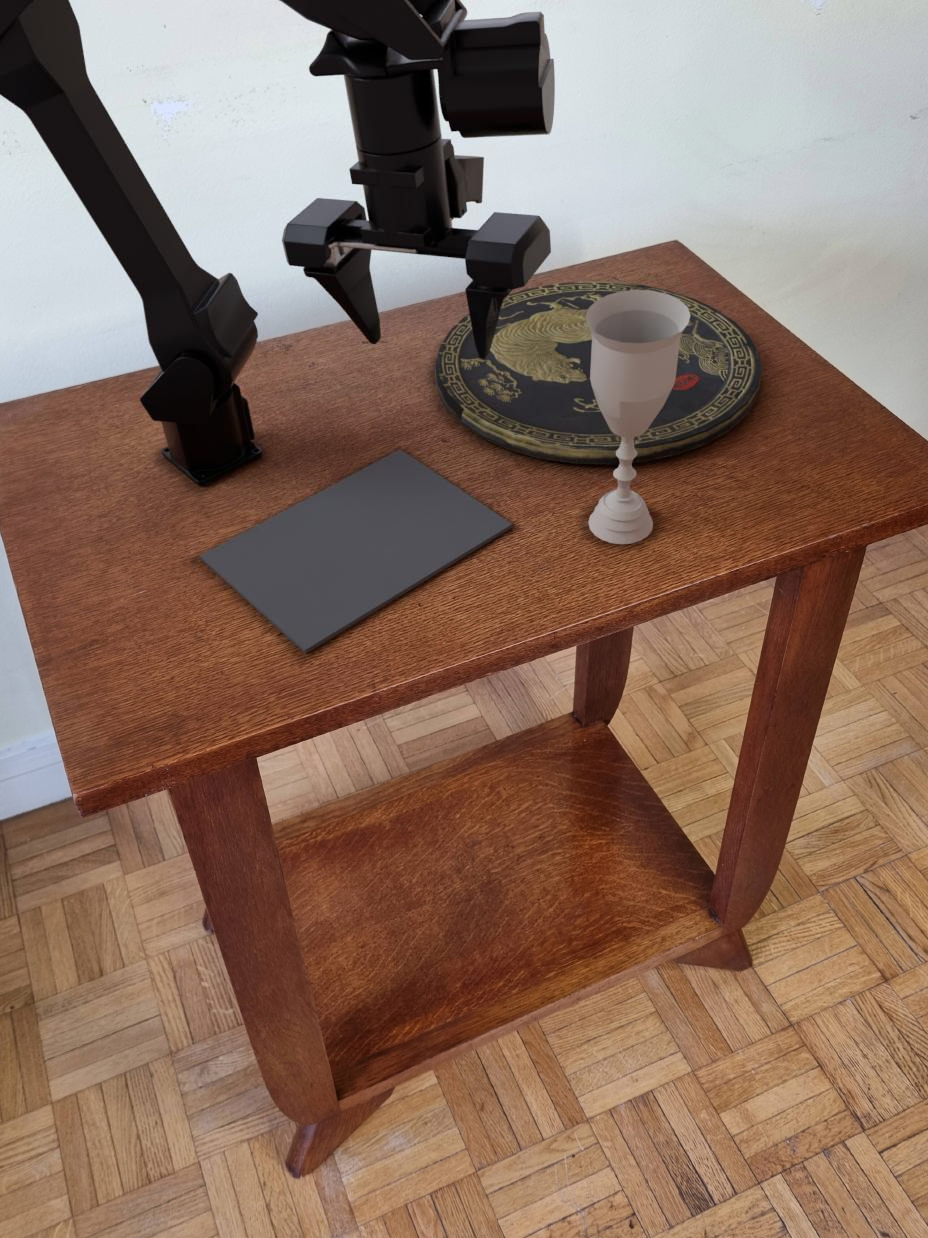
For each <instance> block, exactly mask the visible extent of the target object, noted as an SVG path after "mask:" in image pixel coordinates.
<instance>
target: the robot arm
mask: <svg viewBox="0 0 928 1238" xmlns="http://www.w3.org/2000/svg"><path fill="white" fill-rule="evenodd" d="M278 1H279V2H281V3H283V4H284V5H285V6H287V7H288V8H290V9H291V10H293V11H294V12H295V13H296V14H298V15H300V16H301V17H302V18H304V19H306V20H307V21H309V22H312V23H315V24H317V25H319V26H322V27H324V28H327V29H329V31H328V32H327V33H326V38H325V41H324V44H323V46H322V48H321V50H320V52H319V53H318V54H317V56H316V57H315V59H314V60H313V61H312V62H311V63H310V65H309V67H308V71H309V73H310V74H311V75H312V76H313V77H331V76H343V79H344V84H345V85H344V86H345V90H346V97H347V102H348V107H349V108H348V109H349V113H350V119H351V123H352V124H351V125H352V131H353V137H354V143H355V148H356V149H355V150H356V154H357V162H355V163H354V164H353V165H352V166H351V167H349V168H348V171H349V175H350V181H351V185H357V186H358V185H359V186H362V188H363V189H362V190H363V195H364V200H365V205H366V206H365V207H366V208H365V207H364V206H363V205H362V204H361V203H360V202H358V201H357V200H349V199H337V198H335V199H334V198H323V197H322V198H321V197H316V198H315V199H314V200H313V201H312V202H311V203H309V204H308V205H307V206H306V207H305V208H303V210H301V211H300V212H299V213H297V214H296V215H295V217H293V218H291V220H290V221H289V222H287V223H286V225H285V226H284V228H283V234H282V238H281V243H282V246H283V247H282V248H283V251H284V256H285V259H286V262H287V264H288V266H290V267H301V268H302V271H303V274H304V276H305V277H306V278H311V279H314V280H315V281H316V282H317V283H318V284H319V285H320V286H321V287H322V288H323V289H324V290H325V291H326V293H327V294H328V295H329V296H330V297H331V298H332V299H333V300H334V301H335V302H336V303H337V304H338V305H339V306H340V307H341V309H342V310H343V311H344V312H345V313H346V315H347V316H348V318H349V319H350V320H351V322H353V323H354V325H355V326H356V328H357V329H358V330H359V331H360V332H361V334H362V335H363V336H364V337H365V339H366V340H367V342H369V344H371V345H376V344H377V343H379V341H380V340H381V338H382V333H381V331H382V330H381V320H380V314H379V310H378V304H377V298H376V293H375V289H374V284H373V279H372V278H373V277H372V274H371V259H372V257H371V256H372V251H380V252H391V253H400V254H401V253H402V254H412V255H420V256H421V255H422V256H431V257H440V258H450V259H451V258H452V259H461V260H464V262H465V271H466V275H467V276H468V277H469V278H470V279H471V281H470V283H469V284H468V285H467V286H466V287H465V290H464V291H465V297H466V302H467V308H468V312H469V313H468V314H470V319H471V325H472V331H473V336H474V342H475V346H476V349H477V352H478V355H479V358H481V359H485V358H486V357H487V355H488V354H489V352H490V349H491V345H492V341H493V338H494V334H495V330H496V326H497V323H498V319H499V315H500V311H501V308H502V304H503V301H504V298H505V297H506V296H508V295H509V294H511V292H512V291H513V290H517V289H520V288H524V287H525V286H526V285H527V284H528V282H529V281H530V280H531V279H532V277H533V276H534V275H535V273H536V272H537V271H538V270H539V268H540V267H541V266H542V264H544V262H545V261H546V260H547V258H548V257H549V255H551V253H552V245H551V244H552V243H551V230H550V228H549V227H548V225H547V224H546V222H545V221H544V219H543V218H542V217H541V216H540V215H537V214H521V213H511V212H500V211H499V212H498V211H494V212H492V214H491V215H490V216H489V217H488V219H487V220H486V221H485V222H483V224H482V225H481V226H480V228H478V229H471V228H458V227H453V220H454V219H461V218H463V216H464V215H466V213H467V212H468V205H467V203H471V202H473V203H475V204H482V203H483V193H484V192H483V191H484V168H485V157H484V156H477V155H476V156H475V155H461V154H459V155H458V154H455V148H454V145H453V143H452V139H451V138H443V137H442V136H443V135H442V127H441V121H440V119H441V118H440V113H439V107H440V110H441V115H442V117H443V120H444V121H445V122H446V123H447V122H448V126H449V129H450V132H459V134H460V136H461V138H463V139H471V138H472V139H473V138H474V139H476V138H494V137H496V138H497V137H498V138H499V137H520V136H543V135H545V136H546V135H550V134H551V133H552V129H553V124H554V116H555V98H556V97H555V95H556V87H555V86H556V85H555V83H556V80H555V78H556V76H555V59H554V58H551V50H550V44H549V39H548V36H547V33H546V31H545V15H544V14H543V12H542V11H528V12H521V13H518V14H515V15H512V16H507V17H494V18H479V19H478V18H477V19H476V18H475V19H466V18H467V16H468V9H467V8H466V6H465V5H464V3H462V1H461V0H278ZM75 14H76V13H75V11H74V9H73V6H72V4H71V2H70V0H0V96H1V97H3V98H4V99H6V100H7V101H8V102H10V103H11V104H13V106H15V107H16V108H18V109H20V110H21V111H22V112H23V113H24V115H26V117H27V118H28V120H29V121H30V122H31V125H32V126H33V127H34V128H35V131H37V134H38V135H39V137H40V138H41V140H42V141H43V143H44V144H45V146H46V147H47V149H48V151H49V153H50V154H51V155H52V157H53V159H54V161H55V162H56V164H57V165H58V167H59V169H60V170H61V172H62V174H63V175H64V176H65V178H66V180H67V182H68V183H69V184H70V186H71V188H72V189H73V191H74V192H75V194H76V196H77V198H78V199H79V201H80V203H82V205H83V207H84V209H85V210H86V212H87V213H88V215H89V216H90V218H91V219H92V221H93V223H94V224H95V226H96V227H97V229H98V230H99V232H100V234H101V235H102V237H103V239H104V240H105V242H106V243H107V245H108V247H109V248H110V250H111V251H112V253H113V255H114V256H115V258H116V259H117V261H118V262H119V264H120V266H121V267H122V269H123V271H124V272H125V274H126V275H127V277H128V278H129V280H130V282H131V283H132V285H133V286H134V288H135V289H136V291H137V293H138V294H139V297H140V299H141V302H142V307H143V314H144V320H145V327H146V332H147V339H148V344H149V346H150V348H151V350H152V352H153V355H154V357H155V359H156V361H157V363H158V366H159V368H160V370H159V371H158V372H157V374H156V375H155V377H154V378H153V379H152V381H151V382H150V384H149V385H148V387H147V388H146V389H145V391H144V392H143V393H142V395H141V396H140V398H139V401H140V404H141V405H142V407H143V408H144V409H145V411H146V413H147V414H148V415H149V417H150V418H151V420H152V421H154V422H160V423H161V426H162V430H163V433H164V438H165V442H166V445H167V446H165V447H163V448H162V449H161V454H162V457H163V458H165V459H166V461H168V462H169V463H170V464H172V466H174V467H175V468H176V469H178V470H179V471H180V472H181V473H182V474H184V475H185V476H186V477H187V478H188V479H189V480H191V481H192V482H193V483H195V484H196V485H197V486H206V485H207V484H209V483H211V482H213V481H215V480H217V479H219V478H221V477H223V476H225V475H227V474H229V473H231V472H233V471H235V470H237V469H240V468H241V467H243V466H245V465H248V464H249V463H251V462H254V461H255V460H257V459H259V458H261V457H262V456H263V450H262V448H261V447H260V446H258V444H256V443H254V442H253V441H254V440H255V437H256V435H255V429H254V425H253V420H252V416H251V410H250V406H249V400H248V398H246V397H245V396H244V395H242V392H241V387H240V385H238V384H237V383H235V382H236V380H237V379H238V377H239V375H240V374H241V373H242V371H243V368H244V367H245V366H246V364H247V362H248V360H249V359H250V357H251V356H252V354H253V353H254V351H255V349H256V345H257V342H258V338H259V331H258V328H257V325H256V322H255V320H256V319H257V318H258V316H259V312H258V311H257V310H256V309H255V308H253V306H251V305H250V303H249V302H248V301H247V299H246V298H245V296H244V294H243V291H242V289H241V286H240V284H239V282H238V279H237V277H236V276H235V275H234V274H233V273H232V272H228V273H226V274H224V275H223V276H221V277H219V278H217V277H216V276H215V275H213V274H211V273H210V272H209V271H207V270H206V269H203V268H202V267H201V266H200V265H199V264H198V263H197V262H196V261H195V259H194V258H193V256H192V255H191V253H190V251H189V249H188V247H187V245H186V244H185V243H184V241H183V239H182V238H181V236H180V234H179V232H178V230H177V229H176V227H175V226H174V224H173V222H172V220H171V218H170V217H169V215H168V213H167V212H166V210H165V208H164V206H163V205H162V203H161V201H160V200H159V198H158V196H157V194H156V193H155V191H154V188H153V187H152V186H151V184H150V182H149V180H148V179H147V177H146V175H145V173H144V172H143V170H142V168H141V167H140V165H139V163H138V161H137V159H136V158H135V156H134V155H133V153H132V151H131V150H130V148H129V146H128V145H127V144H128V143H126V141H125V139H124V138H123V136H122V134H121V133H120V130H119V129H118V127H117V126H116V124H115V122H114V120H113V118H111V115H110V114H109V112H108V110H107V108H106V107H105V104H104V103H103V102H102V99H101V98H100V96H99V95H98V93H97V91H96V89H95V88H94V86H93V84H92V83H91V80H90V77H89V76H88V75H89V74H88V72H87V66H86V59H85V53H84V47H83V41H82V34H81V28H80V23H79V21H78V19H77V17H76V15H75ZM435 70H436V71H437V82H438V95H437V87H436V86H437V85H436V79H435ZM438 97H439V98H438ZM438 99H439V103H438ZM439 104H440V105H439ZM366 213H367V215H366ZM367 217H368V219H367Z"/></svg>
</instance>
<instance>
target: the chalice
mask: <svg viewBox="0 0 928 1238" xmlns="http://www.w3.org/2000/svg"><path fill="white" fill-rule="evenodd" d="M689 319H690V313H689V310H688V307H687V306H686V305H685V304H684V303H683V302H681V301H680V300H679V299H677V298H675V297H673V296H671V295H668V294H665V293H661V292H656V291H649V290H630V291H621V292H617V293H614V294H610V295H607V296H605V297H603V298H601V299H599V300H597V301H596V302H595V303H593V304H592V305H591V306H590V307H589V309H588V311H587V314H586V320H587V324H588V326H589V328H590V330H591V332H592V349H591V369H590V381H591V385H592V388H593V391H594V395H595V398H596V401H597V404H598V407H599V408H600V410H601V412H602V414H603V416H604V418H605V420H606V422H607V424H608V426H609V428H610V430H611V431H612V432H613V433H614V434H616V435H618V436H621V439H622V441H621V444H620V447H619V449H618V450H617V451H616V456H617V457H618V458H619V462H620V464H618V467H617V468H615V469H614V470H613V471H612V472H613V473H612V476H613V477H614V478H615V479H616V481H617V488H615V489H613V490H610V491H608V492H606V493H605V494H604V495H602V497H601V498H600V499H599V500H598V503H597V505H596V506H595V507H594V510H593V512H592V513H591V514H590V516H589V518H588V527H589V530H590V532H591V533H592V534H593V535H594V536H595V537H596V538H599V539H600V540H601V541H604V542H607V543H610V544H616V545H630V544H635V543H638V542H641V541H643V540H644V539H646V538H647V537H648V536H650V534H651V533H652V531H653V528H654V522H653V518H652V516H651V515H650V512H649V509H648V507H647V504H646V501H645V500H644V499H643V497H642V496H641V495H639V494H638V493H637V492H635V491H634V490H631V487H630V485H631V483H632V481H633V480H634V479H635V478H636V477H637V471H636V470H635V468H634V467H633V463H632V461H633V459H634V458H635V457H636V456H637V451H636V450H635V448H634V441H633V440H634V437H636V436H639V435H641V434H643V433H645V431H646V430H647V429H648V427H649V426H650V425H651V423H652V422H653V420H654V419H655V417H656V416H657V414H658V413H659V412H660V410H661V409H662V407H663V406H664V404H665V402H666V400H667V398H668V396H669V394H670V392H671V390H672V388H673V386H674V382H675V378H676V370H677V361H678V352H679V344H680V335H681V334H682V332H683V331H684V329H685V328H686V326H687V325H688V323H689Z"/></svg>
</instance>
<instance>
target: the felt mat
mask: <svg viewBox="0 0 928 1238" xmlns="http://www.w3.org/2000/svg"><path fill="white" fill-rule="evenodd" d="M511 529H513V523H511V522H510V521H508V520H507V519H505V518H504V517H502V515H500V514H498V513H496V511H494V510H492V509H491V508H489V507H488V506H486V505H484V504H483V503H482V502H480V501H479V500H477V499H476V498H474V497H473V496H471V495H470V494H469V493H466V492H465V491H464V490H462V489H461V488H459V487H458V486H456V484H453V483H452V482H451V481H449V480H448V479H446V478H444V477H443V476H441V475H440V474H438V473H437V472H435V471H434V470H432V469H431V468H430V467H428V466H426V465H425V464H424V463H422V462H420V461H419V460H417V459H416V458H415V457H413V456H412V455H410V454H408V453H407V452H405V451H404V450H402V449H401V448H399V449H397V450H395V451H394V452H392V453H390V454H387V455H386V456H384V457H382V458H380V459H378V460H377V461H375V462H373V463H371V464H370V465H368V466H366V467H364V468H362V469H360V470H358V471H356V472H354V473H352V474H351V475H348V476H347V477H345V478H343V479H341V480H340V481H338V482H336V483H334V484H332V485H330V486H328V487H326V488H325V489H322V490H321V491H319V492H316V493H315V494H313V495H311V496H309V497H307V498H305V499H303V500H302V501H300V502H298V503H296V504H294V505H292V506H291V507H288V508H286V509H285V510H283V511H281V512H279V513H277V514H276V515H273V516H272V517H270V518H268V519H265V520H263V521H262V522H261V523H259V524H256V525H255V526H253V527H251V528H249V529H247V530H245V531H244V532H242V533H240V534H238V535H236V536H234V537H231V538H230V539H229V540H227V541H224V542H223V543H221V544H219V545H217V546H216V547H213V548H211V549H210V550H207V551H206V552H204V553H202V554H200V555H199V557H200V560H201V561H202V562H203V563H204V564H205V565H207V566H208V567H209V568H210V569H211V570H212V571H213V572H214V573H216V575H218V576H219V577H220V578H221V579H222V580H223V581H224V582H225V583H227V585H229V586H230V587H231V588H232V589H233V590H234V591H235V592H237V593H238V594H239V596H241V597H242V598H243V599H244V600H246V601H247V602H248V603H249V604H250V605H251V606H252V607H253V608H254V609H255V610H256V611H257V612H259V613H260V614H261V615H262V616H263V617H264V618H265V619H266V620H267V621H269V622H270V623H271V624H272V625H273V626H274V627H275V628H276V629H277V630H279V631H280V632H281V633H282V634H283V635H284V636H285V637H287V638H288V639H289V640H290V641H291V642H292V643H293V644H294V645H295V646H296V647H298V648H299V649H300V650H301V651H302V652H303V653H304V654H309V653H310V652H312V651H313V650H315V649H317V648H318V647H320V646H321V645H323V644H325V643H326V642H328V641H330V640H331V639H333V638H334V637H336V636H338V635H339V634H342V632H344V631H346V630H347V629H349V628H351V627H352V626H354V625H356V624H358V623H359V622H360V621H362V620H364V619H366V618H367V617H369V616H370V615H372V614H374V613H376V612H377V611H379V610H380V609H382V608H383V607H385V606H387V605H389V604H390V603H392V602H393V601H395V600H397V599H398V598H400V597H401V596H403V595H405V594H406V593H408V592H410V591H411V590H413V589H414V588H416V587H418V586H420V585H421V584H423V583H424V582H426V581H428V580H429V579H431V578H432V577H434V576H436V575H437V574H439V573H441V572H442V571H444V570H445V569H448V568H449V567H451V566H452V565H454V564H455V563H458V562H459V561H461V560H462V559H463V558H465V557H467V556H469V555H470V554H472V553H473V552H476V551H477V550H479V549H481V547H483V546H485V545H486V544H488V543H490V542H491V541H493V540H495V539H496V538H498V537H499V536H501V535H503V534H505V533H506V532H508V531H510V530H511Z"/></svg>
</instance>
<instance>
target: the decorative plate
mask: <svg viewBox="0 0 928 1238" xmlns="http://www.w3.org/2000/svg"><path fill="white" fill-rule="evenodd" d="M630 290H649V291H656V292H661V293H665V294H668V295H671V296H673V297H675V298H677V299H679V300H680V301H681V302H683V303H684V304H685V305H686V306H687V307H688V310H689V313H690V319H689V323H688V325H687V326H686V328H685V329H684V331H683V332H682V334H681V335H680V344H679V352H678V361H677V370H676V378H675V382H674V386H673V388H672V390H671V392H670V394H669V396H668V398H667V400H666V402H665V404H664V406H663V407H662V409H661V410H660V412H659V413H658V414H657V416H656V417H655V419H654V420H653V422H652V423H651V425H650V426H649V427H648V429H647V430H646V431H645V433H643V434H641V435H639V436H636V437H634V440H633V441H634V448H635V450H636V451H637V456H636V457H635V458H634V459H633V461H632V463H631V464H634V463H646V462H650V461H656V460H660V459H664V458H669V457H674V456H679V455H681V454H684V453H686V452H688V451H689V452H690V451H692V450H695V449H698V448H700V447H703V446H706V445H708V444H709V443H711V442H713V441H715V440H716V439H718V438H720V437H722V436H724V435H725V434H727V433H729V432H730V431H731V430H732V429H734V428H735V426H737V425H738V424H739V423H741V421H742V420H743V419H745V417H747V416H748V414H749V413H750V411H751V409H752V408H753V406H754V405H755V403H756V401H757V400H758V398H759V393H760V388H761V384H762V380H763V367H762V360H761V354H760V352H759V351H758V349H757V347H756V345H755V343H754V342H753V339H752V338H751V336H750V335H749V334H748V333H747V332H746V331H745V330H744V329H743V328H742V327H741V326H740V325H739V324H738V323H737V322H736V321H734V320H733V319H732V318H730V317H729V316H727V315H726V314H724V313H723V312H722V311H720V310H718V309H717V308H715V307H712V306H710V305H708V304H706V303H704V302H702V301H700V300H697V299H695V298H694V297H689V296H687V295H683V294H681V293H679V292H678V293H677V292H674V291H671V290H668V289H663V288H659V287H654V286H649V285H645V284H637V283H629V282H620V281H593V280H592V281H591V280H590V281H589V280H588V281H586V280H584V281H574V282H559V283H553V284H546V285H542V286H536V287H531V288H527V289H523V290H519V291H517V292H513V293H510V294H509V295H508V296H506V297H505V298H504V301H503V304H502V308H501V311H500V315H499V319H498V323H497V326H496V330H495V334H494V338H493V341H492V345H491V349H490V352H489V354H488V355H487V357H486V358H485V359H481V358H479V355H478V352H477V349H476V346H475V342H474V336H473V331H472V325H471V319H470V314H469V313H468V314H466V315H465V316H464V317H462V318H461V319H459V321H458V322H457V323H456V324H455V325H454V326H453V327H452V328H450V329H449V331H448V333H447V334H446V336H445V338H443V341H442V342H441V344H440V346H439V348H438V353H437V357H436V362H435V366H434V377H435V382H436V390H437V392H438V394H439V397H440V399H441V400H442V402H443V404H444V406H445V408H446V410H448V412H449V413H450V414H451V415H452V416H453V417H454V418H455V419H456V420H457V421H458V422H459V424H461V425H462V426H463V427H465V428H466V429H467V430H470V431H471V432H472V433H474V434H476V435H477V436H478V437H479V438H481V439H483V440H486V441H487V442H490V443H492V444H494V445H497V446H499V447H501V448H503V449H506V450H508V451H511V452H514V453H518V454H522V455H526V456H529V457H533V458H536V459H541V460H547V461H553V462H560V463H567V464H568V463H569V464H574V465H602V466H603V465H609V466H611V465H613V466H614V465H619V464H620V462H619V458H618V457H617V456H616V451H617V450H618V449H619V447H620V444H621V441H622V439H621V436H618V435H616V434H614V433H613V432H612V431H611V430H610V428H609V426H608V424H607V422H606V420H605V418H604V416H603V414H602V412H601V410H600V408H599V407H598V404H597V401H596V398H595V395H594V391H593V388H592V385H591V381H590V369H591V349H592V332H591V330H590V328H589V326H588V324H587V320H586V314H587V311H588V309H589V307H590V306H591V305H592V304H593V303H595V302H596V301H597V300H599V299H601V298H603V297H605V296H607V295H610V294H614V293H617V292H621V291H630Z"/></svg>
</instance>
